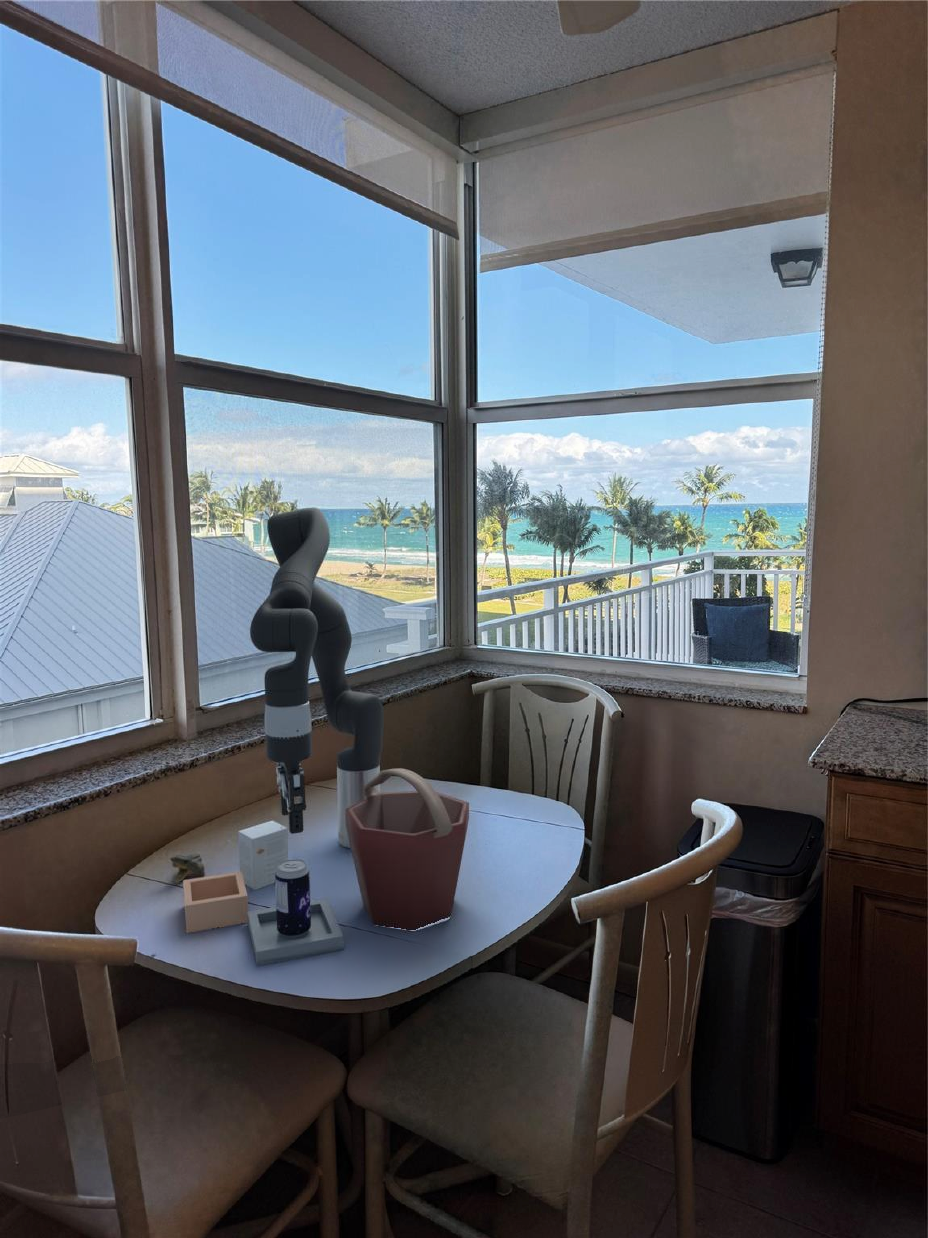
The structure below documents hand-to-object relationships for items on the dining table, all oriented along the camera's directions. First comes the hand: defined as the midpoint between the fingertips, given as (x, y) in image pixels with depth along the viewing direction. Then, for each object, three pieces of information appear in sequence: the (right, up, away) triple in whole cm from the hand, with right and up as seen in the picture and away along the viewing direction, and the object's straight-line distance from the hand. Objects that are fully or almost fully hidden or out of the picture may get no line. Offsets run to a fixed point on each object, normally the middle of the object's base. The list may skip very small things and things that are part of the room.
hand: (292, 823), depth 137 cm
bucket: (+19, -19, +13) cm, 30 cm away
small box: (-11, -18, +24) cm, 32 cm away
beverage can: (0, -20, +3) cm, 20 cm away
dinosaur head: (-27, -18, +25) cm, 41 cm away
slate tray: (0, -20, +3) cm, 20 cm away
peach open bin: (-16, -19, +11) cm, 27 cm away
